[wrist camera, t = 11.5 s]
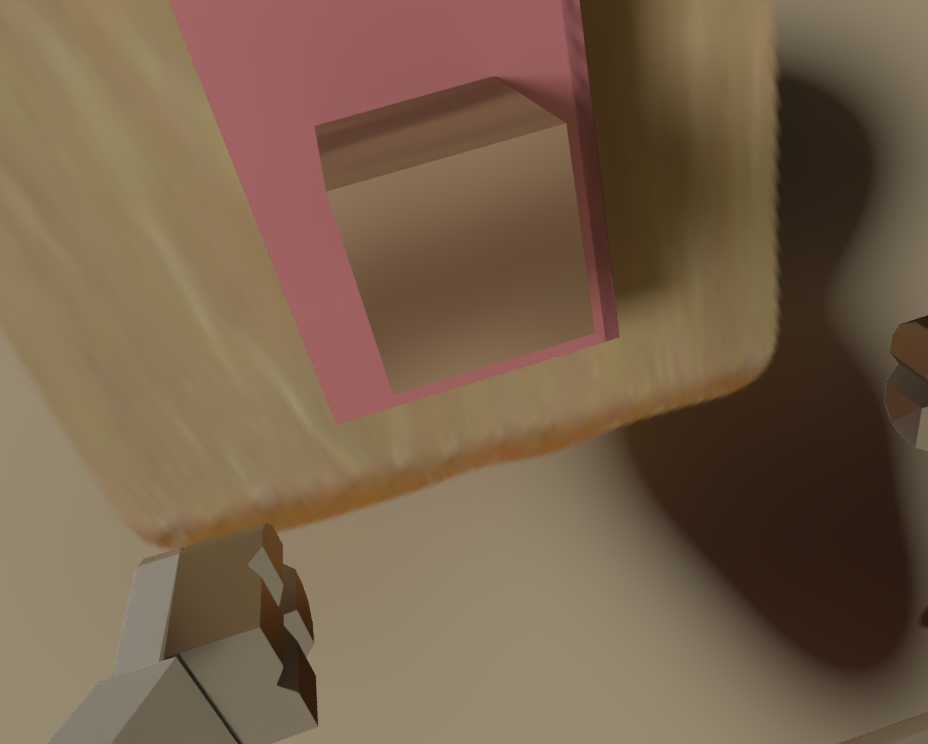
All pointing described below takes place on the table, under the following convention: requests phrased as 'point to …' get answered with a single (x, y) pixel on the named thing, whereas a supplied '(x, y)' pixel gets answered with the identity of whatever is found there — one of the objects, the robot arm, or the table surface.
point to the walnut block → (459, 229)
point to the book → (363, 89)
